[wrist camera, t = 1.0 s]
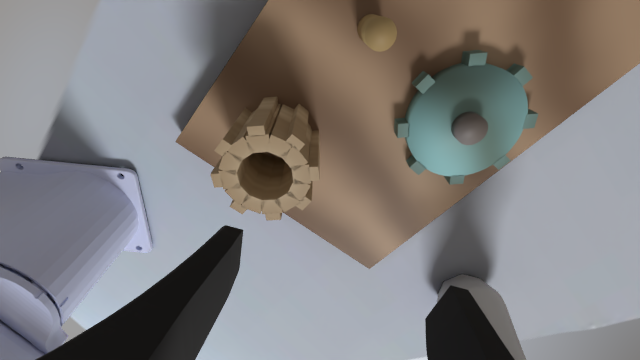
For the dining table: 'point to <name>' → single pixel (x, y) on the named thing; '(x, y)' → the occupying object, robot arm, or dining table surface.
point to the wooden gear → (269, 160)
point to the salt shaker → (489, 310)
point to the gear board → (415, 97)
